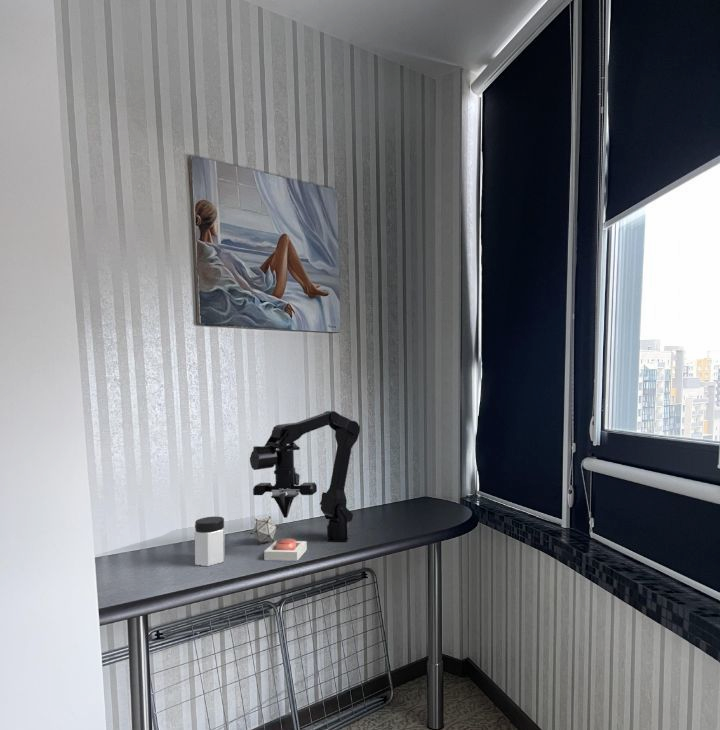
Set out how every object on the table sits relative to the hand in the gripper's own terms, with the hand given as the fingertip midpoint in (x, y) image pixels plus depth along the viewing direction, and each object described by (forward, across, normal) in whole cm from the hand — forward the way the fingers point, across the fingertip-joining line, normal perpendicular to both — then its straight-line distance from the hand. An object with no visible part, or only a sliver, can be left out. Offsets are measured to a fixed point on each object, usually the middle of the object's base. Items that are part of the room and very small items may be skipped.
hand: (285, 517), depth 141 cm
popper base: (+11, 0, +1) cm, 11 cm away
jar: (+11, +21, +8) cm, 25 cm away
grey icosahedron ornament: (+11, +11, -10) cm, 19 cm away
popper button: (+11, 0, +1) cm, 11 cm away
